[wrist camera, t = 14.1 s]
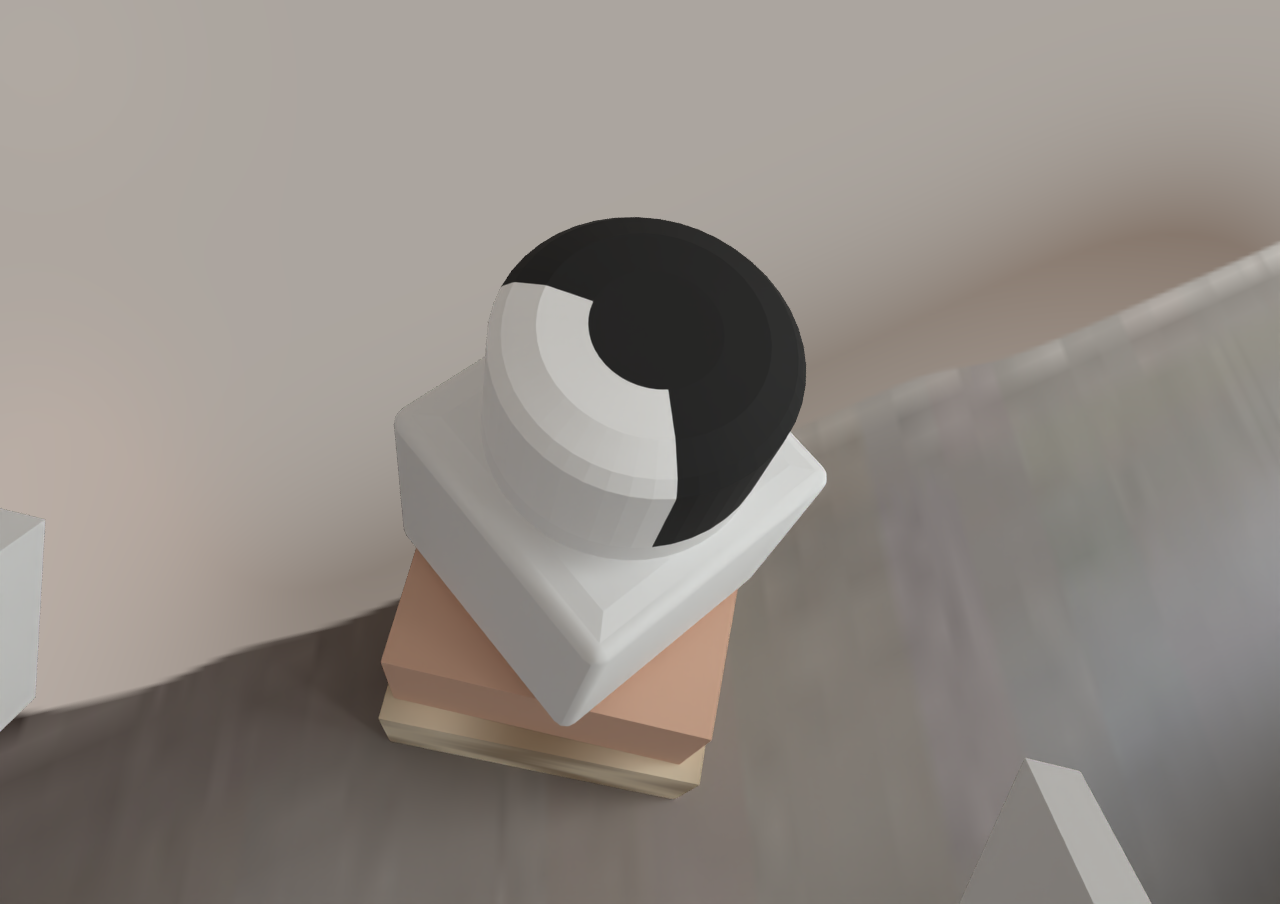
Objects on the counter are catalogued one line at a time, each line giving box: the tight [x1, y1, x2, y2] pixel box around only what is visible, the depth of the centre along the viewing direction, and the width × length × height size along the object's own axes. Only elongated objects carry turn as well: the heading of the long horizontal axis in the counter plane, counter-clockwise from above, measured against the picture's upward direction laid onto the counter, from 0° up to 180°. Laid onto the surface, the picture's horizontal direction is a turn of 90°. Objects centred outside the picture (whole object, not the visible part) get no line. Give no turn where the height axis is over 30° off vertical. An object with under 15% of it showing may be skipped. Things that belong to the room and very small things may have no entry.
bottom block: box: [379, 683, 705, 799], centre depth 37 cm, size 10×10×5 cm
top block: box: [381, 548, 738, 765], centre depth 33 cm, size 9×9×5 cm
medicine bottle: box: [394, 217, 826, 726], centre depth 25 cm, size 7×7×12 cm
